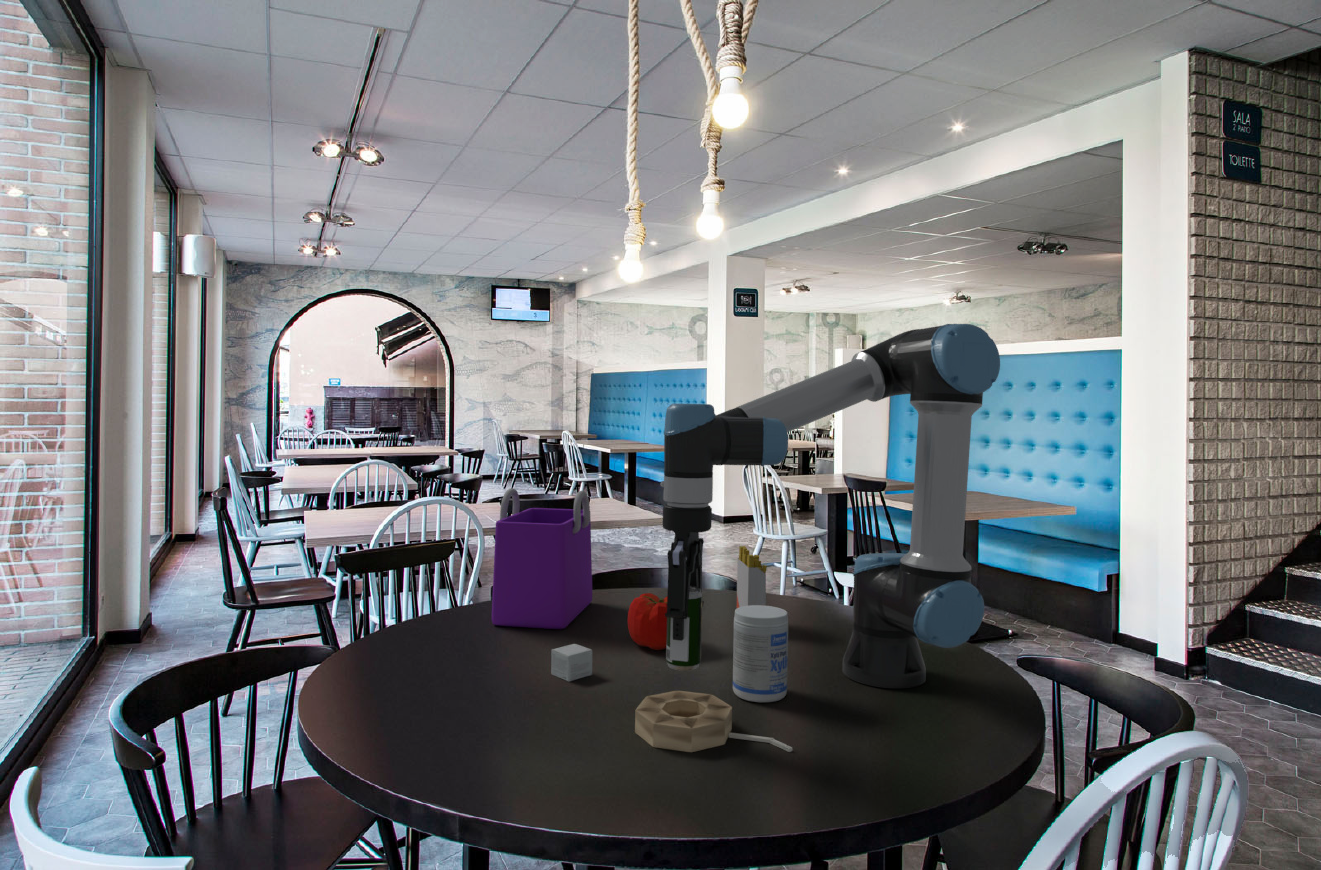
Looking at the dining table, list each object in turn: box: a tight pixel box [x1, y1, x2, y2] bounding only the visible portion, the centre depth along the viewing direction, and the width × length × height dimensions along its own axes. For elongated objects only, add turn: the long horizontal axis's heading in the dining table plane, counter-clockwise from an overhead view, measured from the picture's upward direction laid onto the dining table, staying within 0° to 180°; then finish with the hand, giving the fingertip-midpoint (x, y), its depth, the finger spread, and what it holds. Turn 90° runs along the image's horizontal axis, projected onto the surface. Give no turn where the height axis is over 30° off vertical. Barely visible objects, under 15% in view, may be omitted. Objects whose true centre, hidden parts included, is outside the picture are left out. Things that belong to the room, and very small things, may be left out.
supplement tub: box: [732, 605, 789, 703], centre depth 136 cm, size 10×10×15 cm
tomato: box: [627, 592, 667, 651], centre depth 163 cm, size 14×13×10 cm
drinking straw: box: [728, 732, 793, 753], centre depth 116 cm, size 10×3×1 cm, turn 74°
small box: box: [550, 643, 593, 682], centre depth 145 cm, size 6×6×5 cm
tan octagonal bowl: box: [634, 690, 733, 753], centre depth 120 cm, size 14×14×4 cm
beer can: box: [665, 585, 703, 672], centre depth 120 cm, size 5×5×12 cm
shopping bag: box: [491, 488, 593, 630], centre depth 186 cm, size 28×22×30 cm
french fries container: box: [736, 545, 768, 609], centre depth 177 cm, size 5×11×18 cm, turn 7°
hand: (683, 653), depth 120 cm, fingers closed on beer can, 5 cm apart
